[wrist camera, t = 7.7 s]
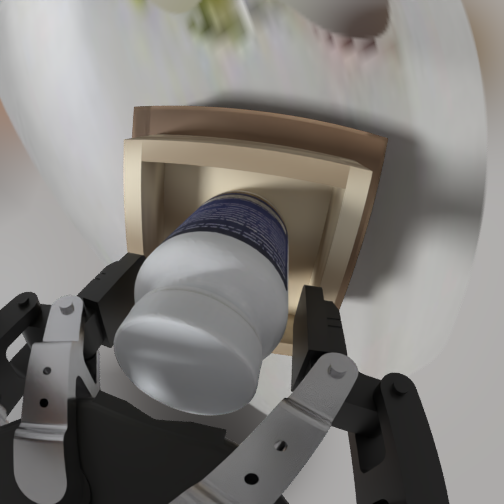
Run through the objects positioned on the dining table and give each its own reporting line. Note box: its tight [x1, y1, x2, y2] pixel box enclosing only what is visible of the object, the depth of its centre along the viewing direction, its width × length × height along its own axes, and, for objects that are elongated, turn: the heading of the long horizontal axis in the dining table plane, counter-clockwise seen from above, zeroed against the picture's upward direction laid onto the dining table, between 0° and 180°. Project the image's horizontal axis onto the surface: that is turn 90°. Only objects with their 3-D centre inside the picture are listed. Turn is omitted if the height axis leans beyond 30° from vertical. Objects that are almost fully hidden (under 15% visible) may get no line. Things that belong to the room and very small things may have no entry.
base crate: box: [132, 106, 388, 310], centre depth 18 cm, size 14×14×5 cm
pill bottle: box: [114, 190, 289, 415], centre depth 11 cm, size 5×5×10 cm
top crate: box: [123, 134, 373, 356], centre depth 14 cm, size 11×11×4 cm
